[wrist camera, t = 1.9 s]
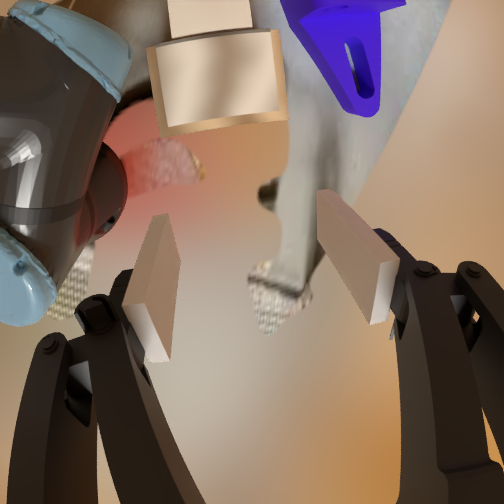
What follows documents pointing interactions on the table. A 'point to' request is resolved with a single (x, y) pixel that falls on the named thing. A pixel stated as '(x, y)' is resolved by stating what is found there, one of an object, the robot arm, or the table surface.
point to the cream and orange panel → (207, 16)
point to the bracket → (332, 45)
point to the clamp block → (218, 81)
